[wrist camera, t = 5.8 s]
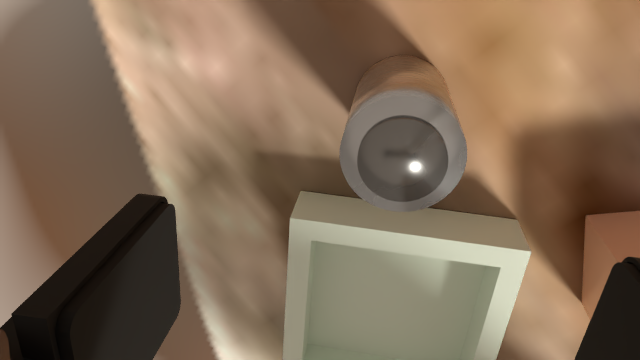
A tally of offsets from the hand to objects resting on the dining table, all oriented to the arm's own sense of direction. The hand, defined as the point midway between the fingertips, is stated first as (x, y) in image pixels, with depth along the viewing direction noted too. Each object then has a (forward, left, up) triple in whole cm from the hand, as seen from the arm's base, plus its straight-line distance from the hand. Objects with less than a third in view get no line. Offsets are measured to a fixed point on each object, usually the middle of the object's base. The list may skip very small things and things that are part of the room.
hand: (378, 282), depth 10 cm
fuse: (-1, 0, -12) cm, 12 cm away
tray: (+9, +1, -12) cm, 15 cm away
